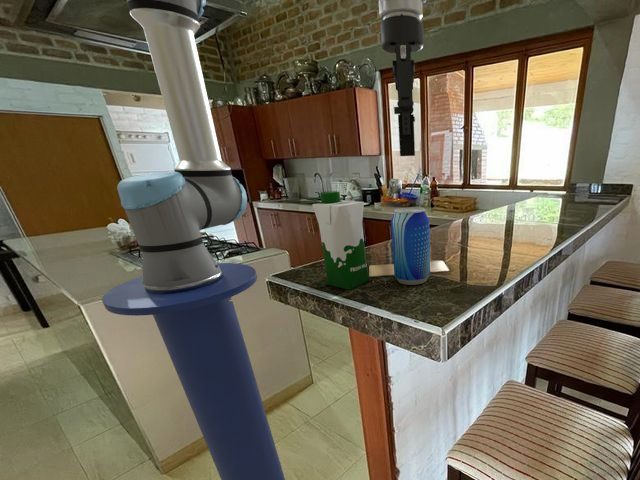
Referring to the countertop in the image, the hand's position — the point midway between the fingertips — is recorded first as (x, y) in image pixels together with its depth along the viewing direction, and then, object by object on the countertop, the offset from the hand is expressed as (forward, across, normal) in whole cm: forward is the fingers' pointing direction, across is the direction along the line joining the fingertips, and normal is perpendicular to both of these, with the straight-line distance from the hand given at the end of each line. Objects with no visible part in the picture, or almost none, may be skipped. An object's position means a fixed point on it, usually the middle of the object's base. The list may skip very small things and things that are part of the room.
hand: (407, 156), depth 67 cm
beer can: (+27, 0, 0) cm, 27 cm away
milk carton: (+27, 0, +15) cm, 31 cm away
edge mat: (+26, +9, +1) cm, 28 cm away
